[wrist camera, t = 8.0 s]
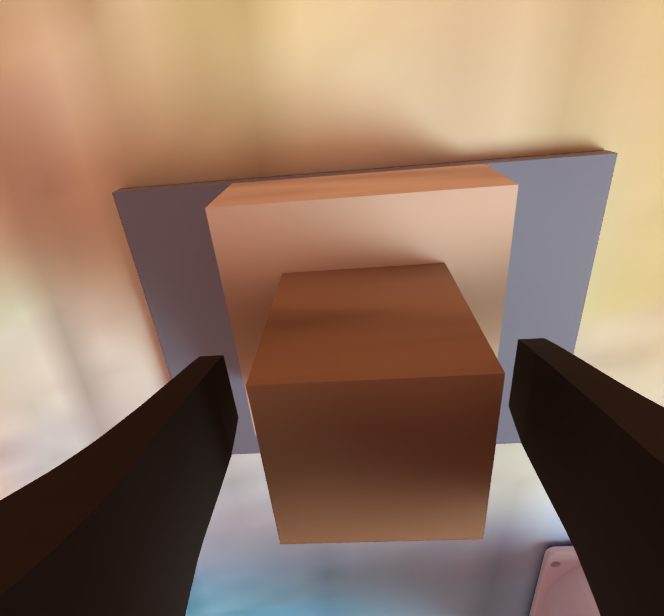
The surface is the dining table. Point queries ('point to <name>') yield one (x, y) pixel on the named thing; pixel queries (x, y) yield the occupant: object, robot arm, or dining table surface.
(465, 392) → the walnut block
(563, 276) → the board
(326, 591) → the dining table surface
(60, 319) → the dining table surface
